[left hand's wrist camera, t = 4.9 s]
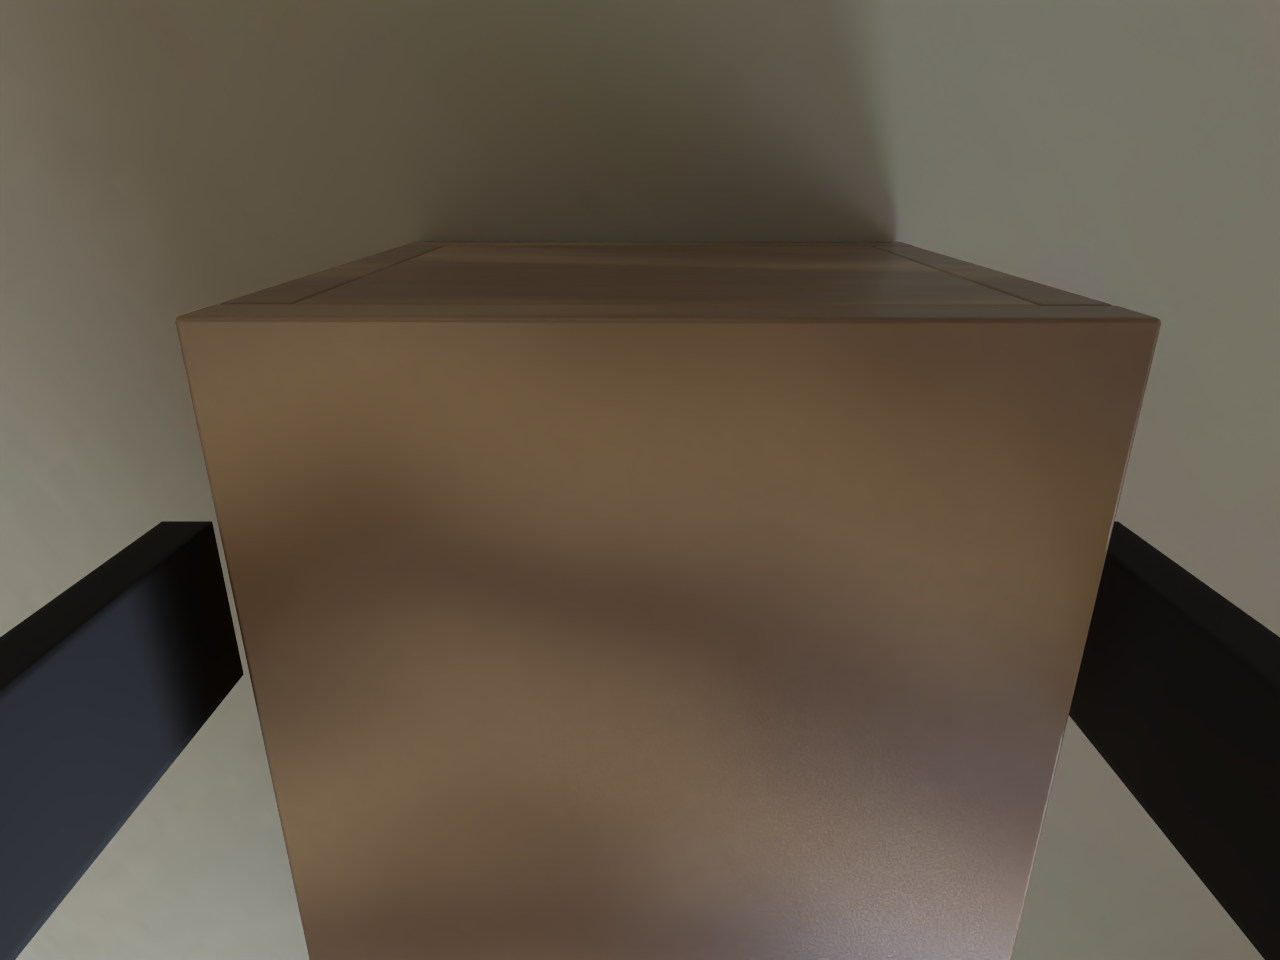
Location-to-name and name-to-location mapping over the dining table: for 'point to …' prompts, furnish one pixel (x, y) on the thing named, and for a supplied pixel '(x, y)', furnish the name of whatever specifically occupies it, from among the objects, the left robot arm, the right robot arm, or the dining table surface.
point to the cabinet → (664, 589)
